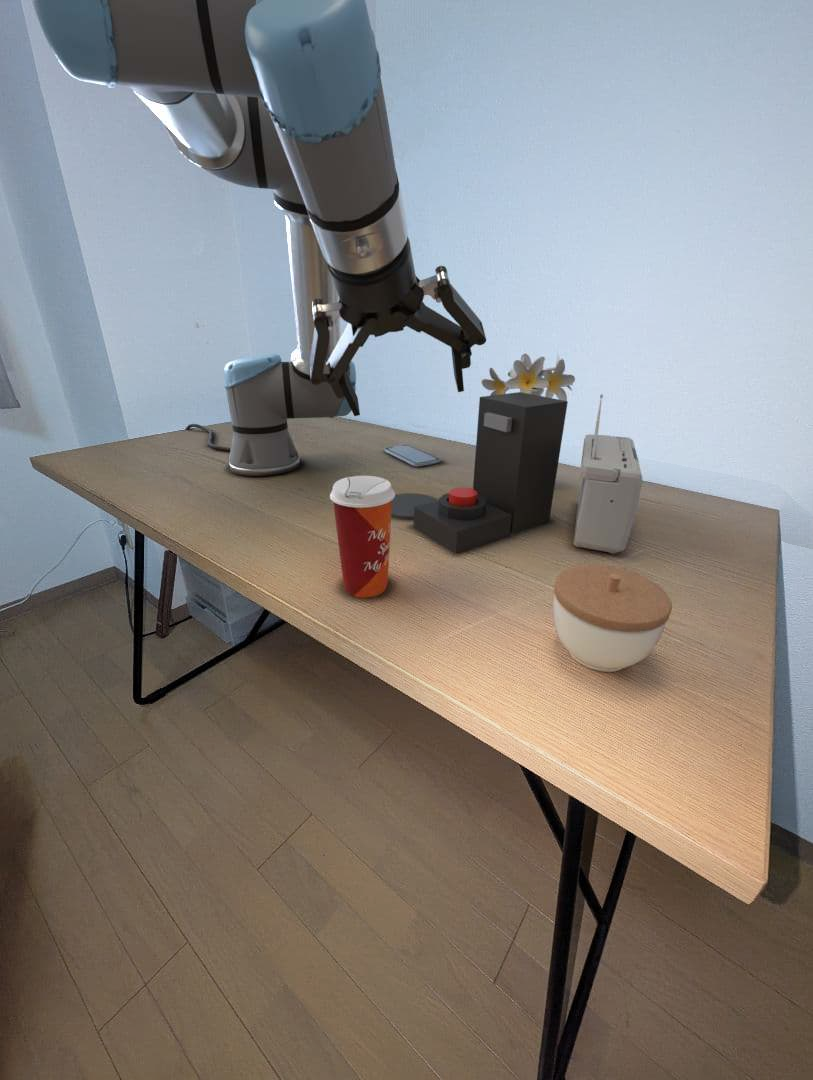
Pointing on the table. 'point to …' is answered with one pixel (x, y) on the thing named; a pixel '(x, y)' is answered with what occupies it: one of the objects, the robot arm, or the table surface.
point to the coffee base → (461, 523)
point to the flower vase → (532, 378)
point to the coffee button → (463, 497)
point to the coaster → (408, 504)
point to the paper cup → (363, 532)
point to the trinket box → (608, 615)
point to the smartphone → (412, 455)
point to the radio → (607, 492)
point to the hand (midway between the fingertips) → (407, 395)
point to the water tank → (519, 455)
